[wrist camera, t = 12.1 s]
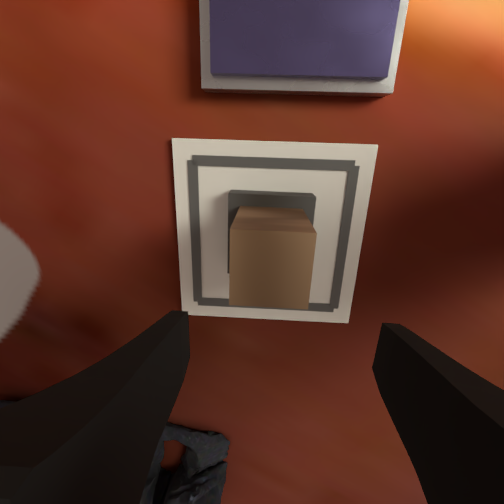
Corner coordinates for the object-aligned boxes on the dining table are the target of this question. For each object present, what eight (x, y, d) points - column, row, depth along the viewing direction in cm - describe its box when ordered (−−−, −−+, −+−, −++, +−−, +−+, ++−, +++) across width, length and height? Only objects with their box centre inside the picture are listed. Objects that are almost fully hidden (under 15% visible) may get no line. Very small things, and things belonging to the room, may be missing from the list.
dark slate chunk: (0, 360, 25) (-58, 407, 20) (245, 432, 26) (241, 490, 22) (-5, 473, 30) (-53, 530, 25) (200, 527, 31) (189, 591, 27)
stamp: (312, 193, 18) (336, 217, 12) (304, 268, 20) (321, 323, 13) (231, 189, 18) (213, 211, 12) (230, 264, 20) (214, 317, 14)
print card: (375, 144, 17) (379, 144, 17) (346, 320, 21) (348, 324, 21) (173, 138, 17) (171, 137, 17) (183, 311, 22) (181, 315, 21)
